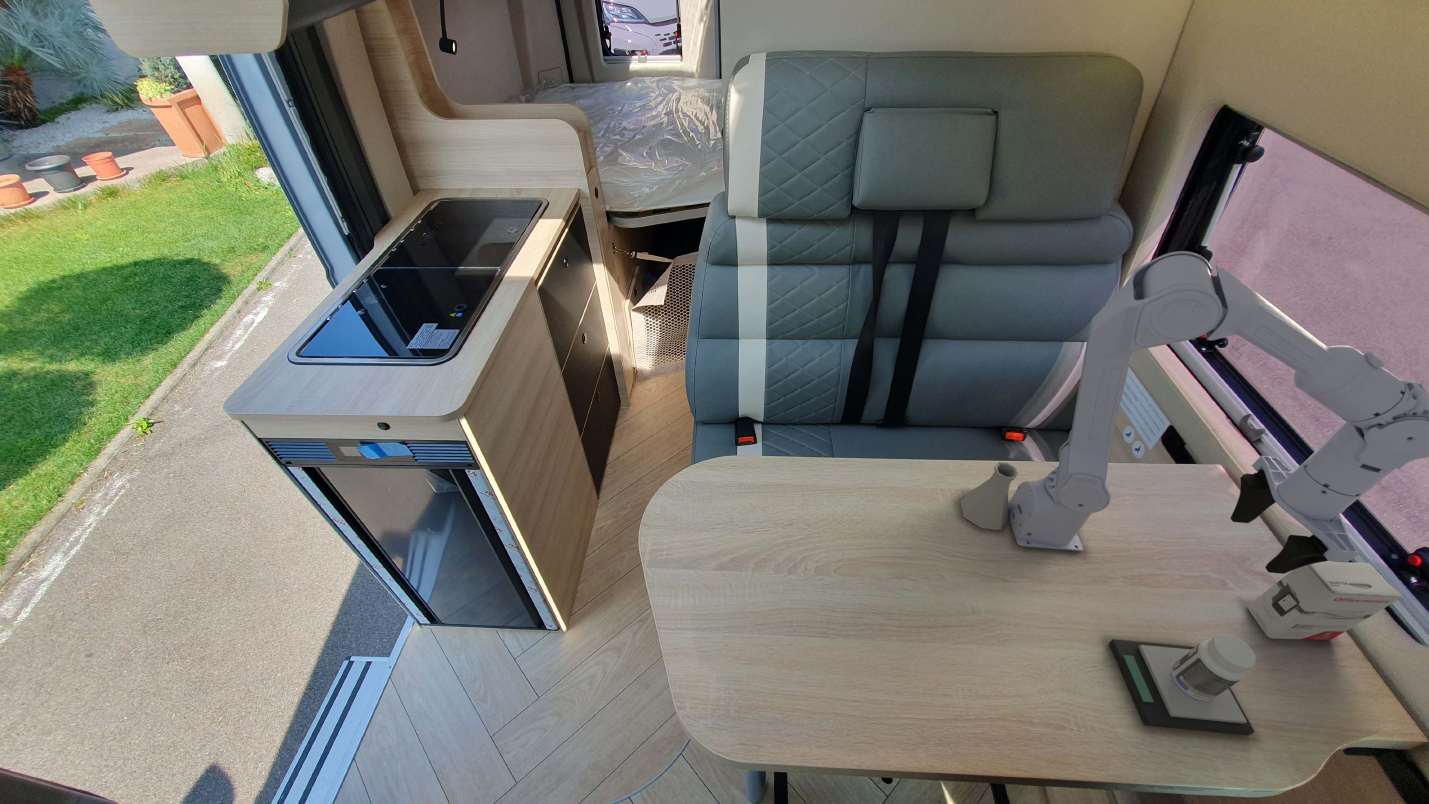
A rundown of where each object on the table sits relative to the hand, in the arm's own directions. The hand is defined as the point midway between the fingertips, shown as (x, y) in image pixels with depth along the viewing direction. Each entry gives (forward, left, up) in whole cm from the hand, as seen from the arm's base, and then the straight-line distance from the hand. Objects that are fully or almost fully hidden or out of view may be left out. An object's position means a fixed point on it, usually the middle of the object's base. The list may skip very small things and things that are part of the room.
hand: (1256, 544), depth 75 cm
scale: (-12, -15, -10) cm, 22 cm away
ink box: (+8, -5, -11) cm, 14 cm away
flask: (-29, +10, -11) cm, 32 cm away
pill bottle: (-11, -15, -9) cm, 20 cm away
